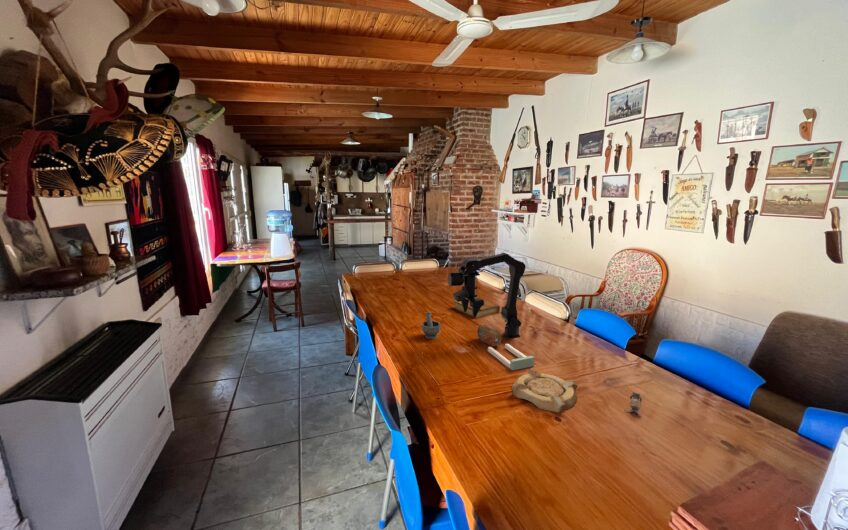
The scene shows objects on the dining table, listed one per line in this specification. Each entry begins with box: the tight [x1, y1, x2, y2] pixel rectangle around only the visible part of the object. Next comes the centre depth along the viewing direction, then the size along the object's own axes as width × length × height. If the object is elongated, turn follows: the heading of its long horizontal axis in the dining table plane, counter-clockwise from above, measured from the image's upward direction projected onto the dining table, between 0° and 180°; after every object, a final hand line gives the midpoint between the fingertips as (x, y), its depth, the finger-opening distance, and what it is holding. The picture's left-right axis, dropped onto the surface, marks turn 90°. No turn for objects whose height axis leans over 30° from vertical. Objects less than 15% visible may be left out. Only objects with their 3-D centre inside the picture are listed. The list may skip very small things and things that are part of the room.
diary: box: [453, 296, 501, 320], centre depth 219 cm, size 23×19×6 cm
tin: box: [477, 324, 502, 348], centre depth 170 cm, size 15×3×8 cm, turn 31°
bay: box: [487, 343, 535, 371], centre depth 154 cm, size 11×20×4 cm, turn 20°
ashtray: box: [511, 368, 579, 413], centre depth 127 cm, size 24×24×5 cm
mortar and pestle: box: [421, 311, 442, 340], centre depth 178 cm, size 11×9×12 cm
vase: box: [623, 391, 643, 417], centre depth 117 cm, size 5×5×6 cm
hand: (469, 314), depth 173 cm, fingers open, 9 cm apart
